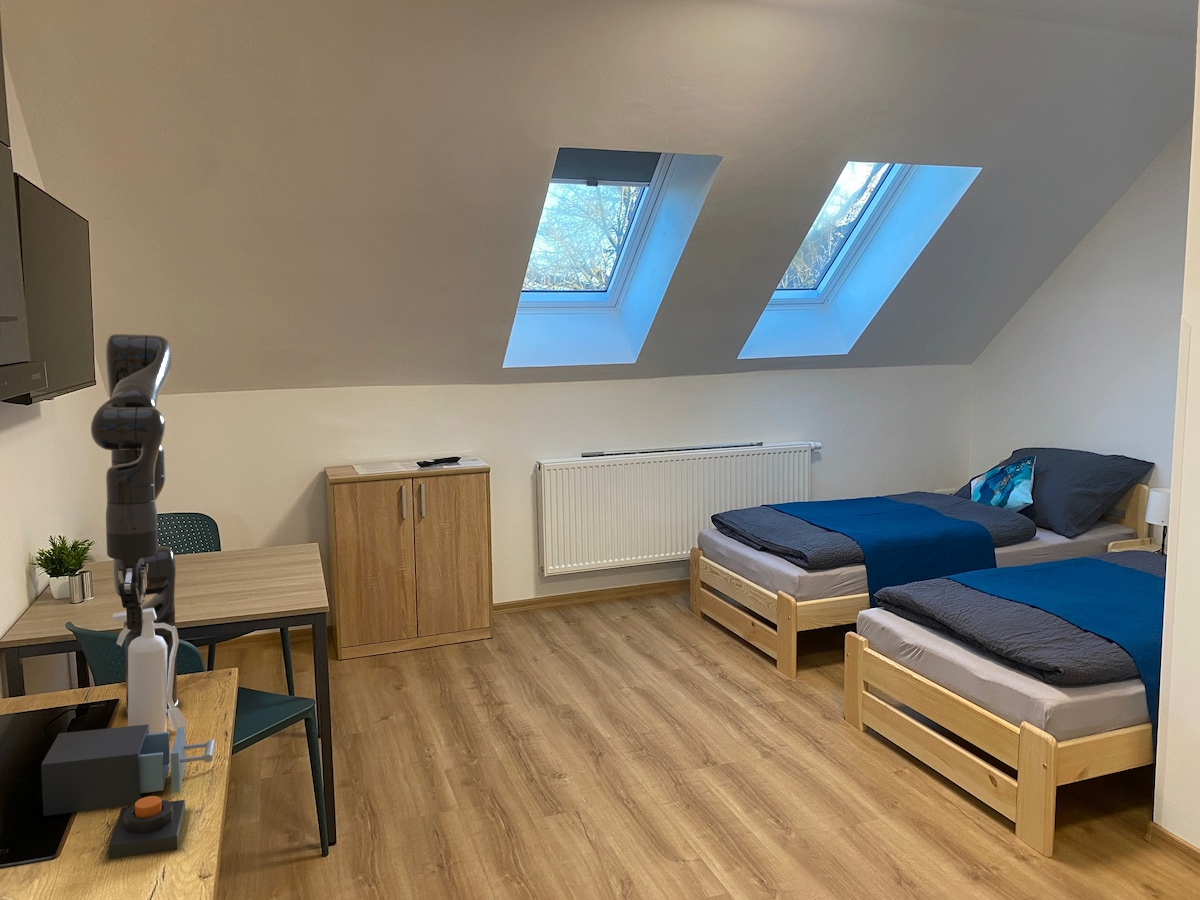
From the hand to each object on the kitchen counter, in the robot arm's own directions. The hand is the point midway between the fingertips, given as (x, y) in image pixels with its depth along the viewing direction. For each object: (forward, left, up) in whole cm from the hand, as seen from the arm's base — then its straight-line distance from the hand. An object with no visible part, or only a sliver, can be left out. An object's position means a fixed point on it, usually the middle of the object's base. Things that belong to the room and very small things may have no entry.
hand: (135, 627), depth 150 cm
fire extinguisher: (-16, 0, -27) cm, 31 cm away
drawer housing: (+4, -5, -27) cm, 27 cm away
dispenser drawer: (+4, +3, -26) cm, 26 cm away
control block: (+20, +4, -27) cm, 33 cm away
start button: (+20, +4, -23) cm, 31 cm away
